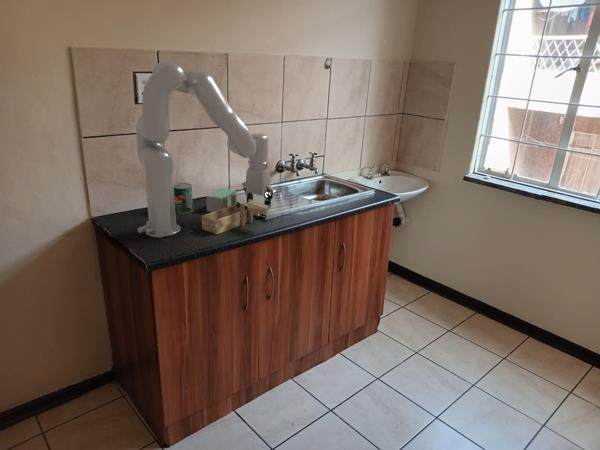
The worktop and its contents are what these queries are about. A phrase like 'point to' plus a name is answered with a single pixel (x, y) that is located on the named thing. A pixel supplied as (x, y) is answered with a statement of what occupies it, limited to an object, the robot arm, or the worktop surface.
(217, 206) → the box
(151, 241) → the worktop surface
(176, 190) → the canned tomato
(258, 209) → the tan wooden block
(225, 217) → the toolbox
